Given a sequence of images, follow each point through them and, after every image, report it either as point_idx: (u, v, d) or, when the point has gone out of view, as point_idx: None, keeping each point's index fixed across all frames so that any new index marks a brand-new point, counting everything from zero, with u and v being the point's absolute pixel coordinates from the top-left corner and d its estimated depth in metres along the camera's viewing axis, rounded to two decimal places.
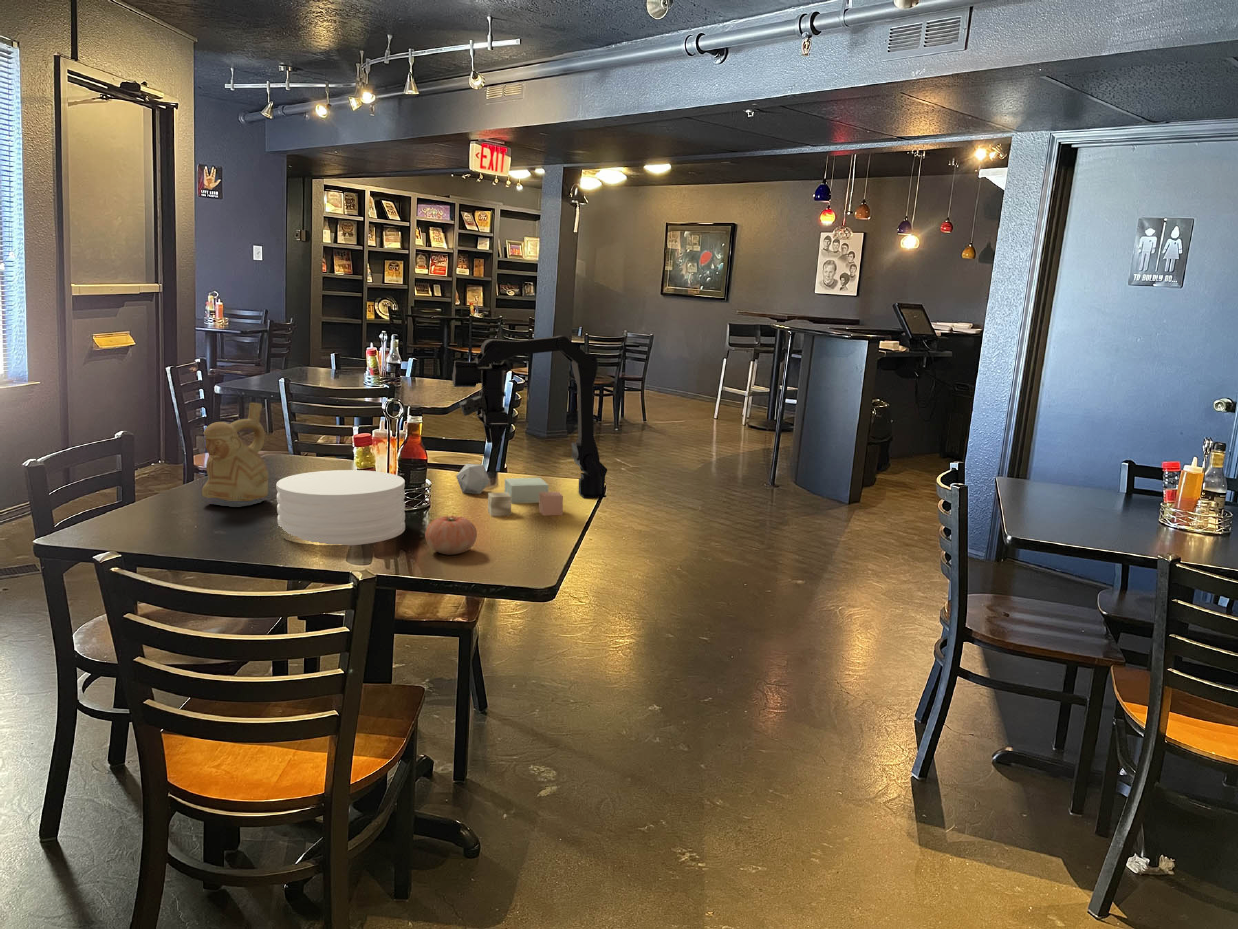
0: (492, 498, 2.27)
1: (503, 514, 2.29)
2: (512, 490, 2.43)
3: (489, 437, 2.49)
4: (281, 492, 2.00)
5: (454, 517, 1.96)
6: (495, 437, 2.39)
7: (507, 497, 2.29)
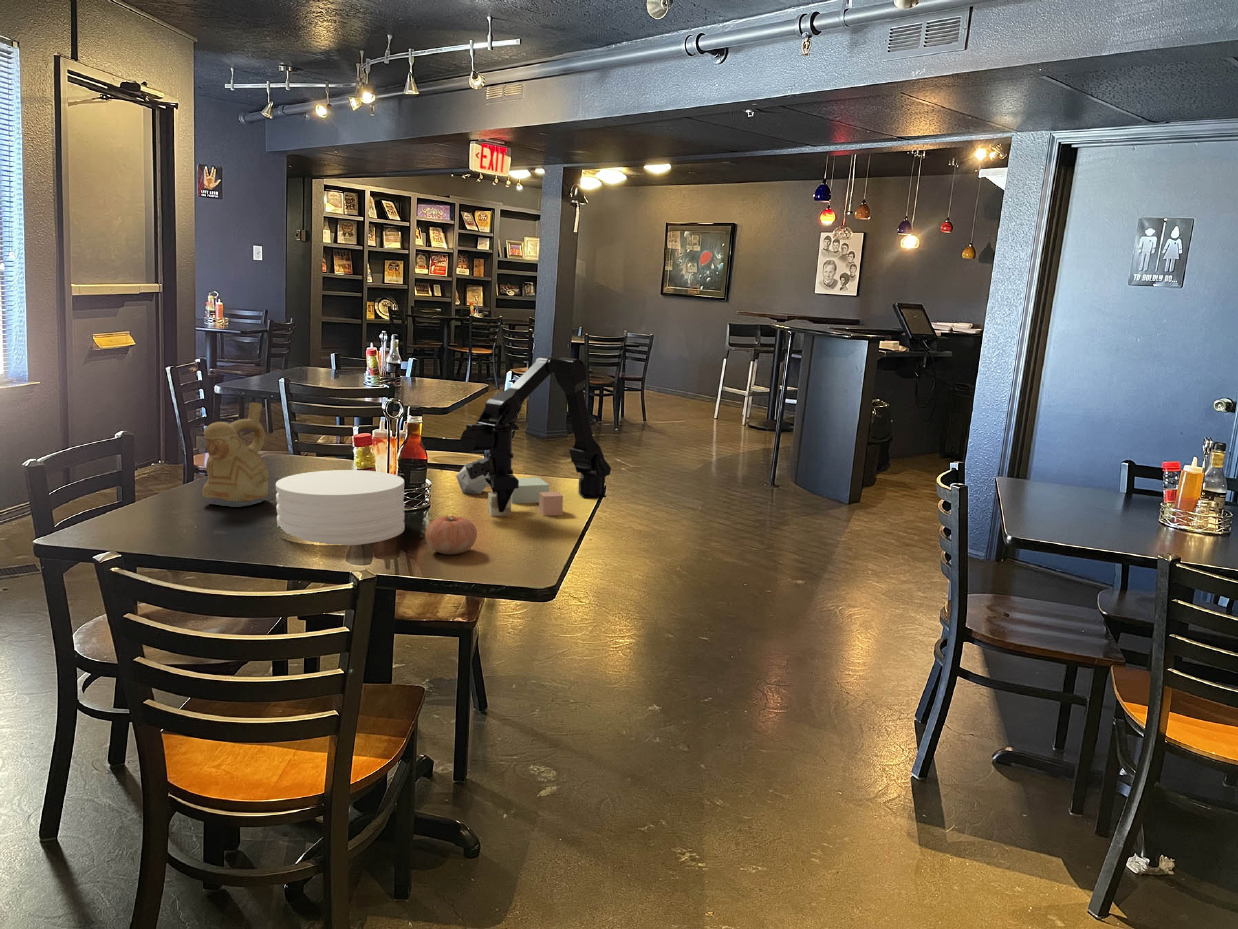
0: (492, 498, 2.27)
1: (503, 514, 2.29)
2: None
3: None
4: (280, 492, 2.00)
5: (454, 517, 1.96)
6: (502, 501, 2.27)
7: None
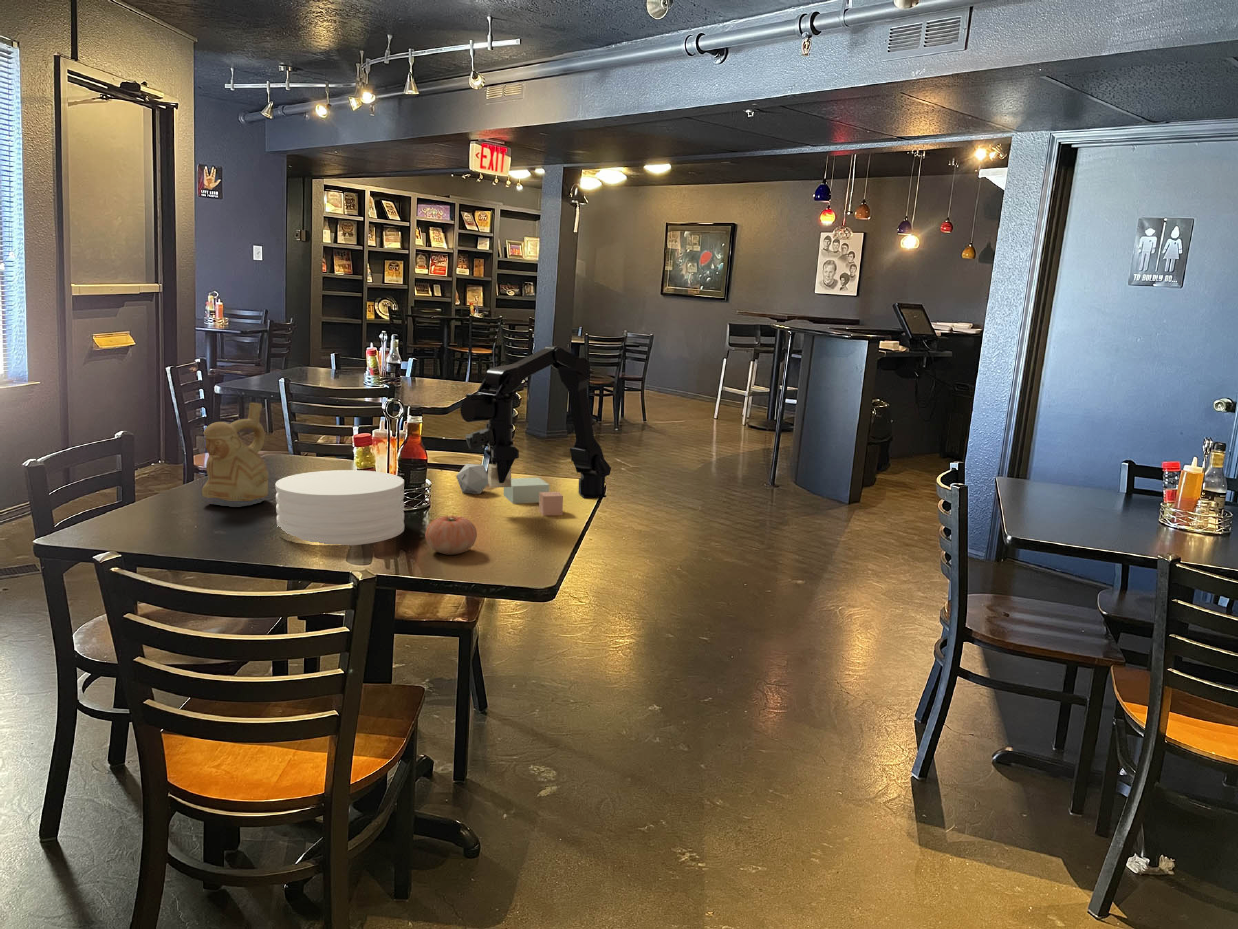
0: (492, 469, 2.26)
1: (503, 485, 2.28)
2: (513, 490, 2.42)
3: None
4: (280, 492, 1.99)
5: (454, 517, 1.96)
6: (502, 471, 2.26)
7: None
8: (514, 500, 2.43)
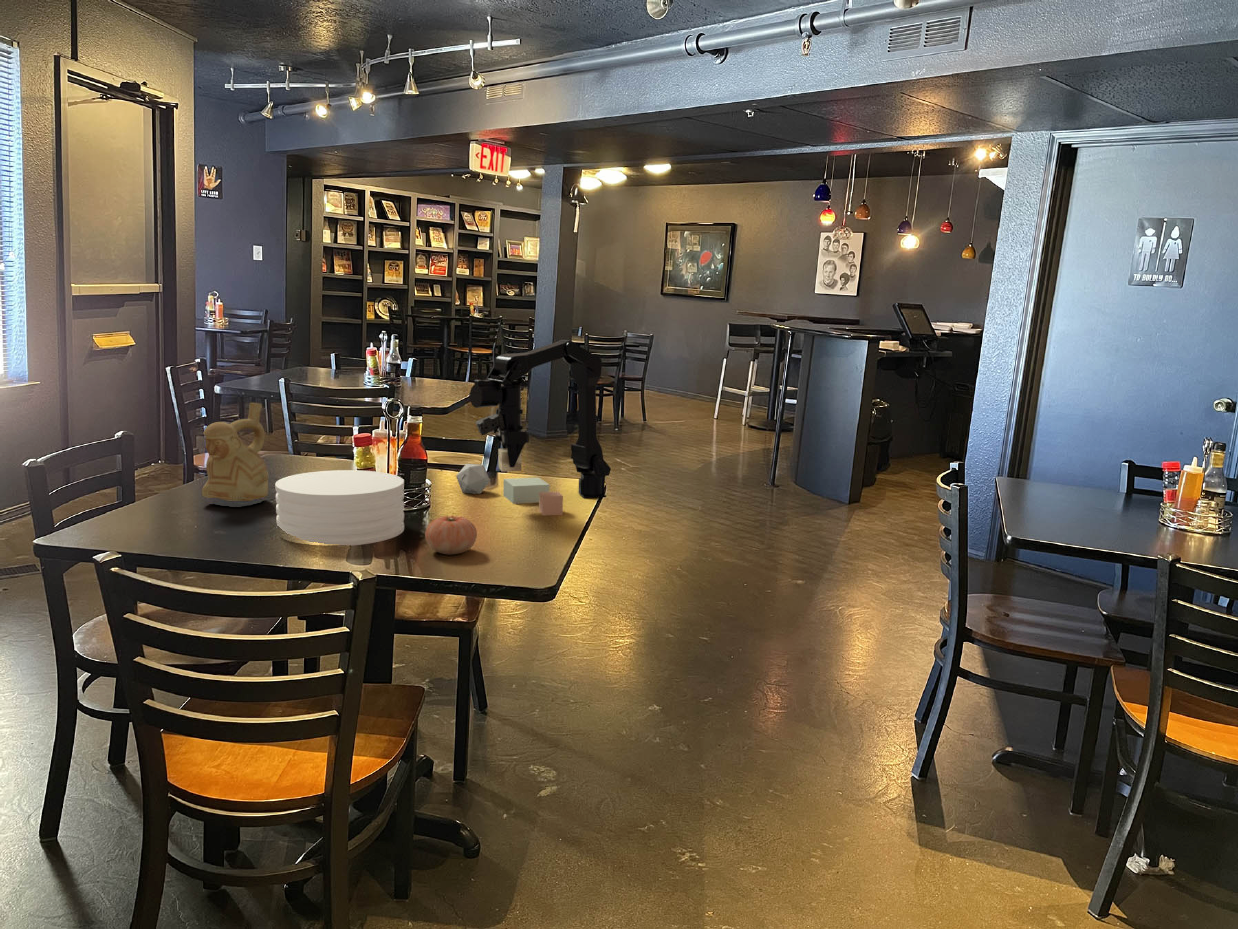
0: (502, 453, 2.31)
1: (514, 469, 2.33)
2: (514, 490, 2.42)
3: None
4: (280, 492, 1.99)
5: (454, 517, 1.96)
6: (512, 456, 2.31)
7: None
8: (514, 500, 2.43)
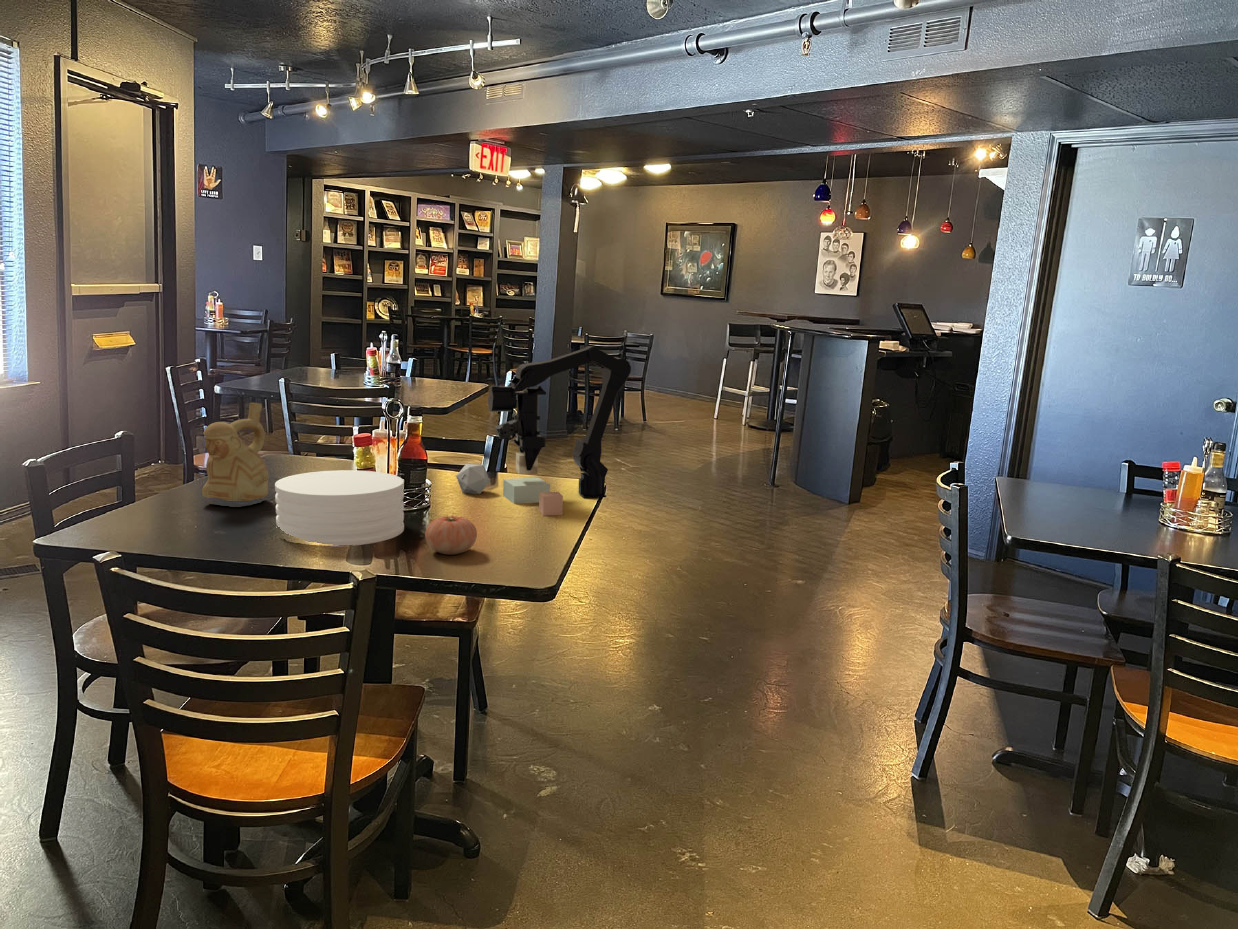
0: (520, 457, 2.44)
1: (530, 472, 2.46)
2: (514, 490, 2.42)
3: None
4: (280, 492, 1.99)
5: (454, 517, 1.96)
6: (529, 460, 2.44)
7: None
8: (515, 500, 2.43)
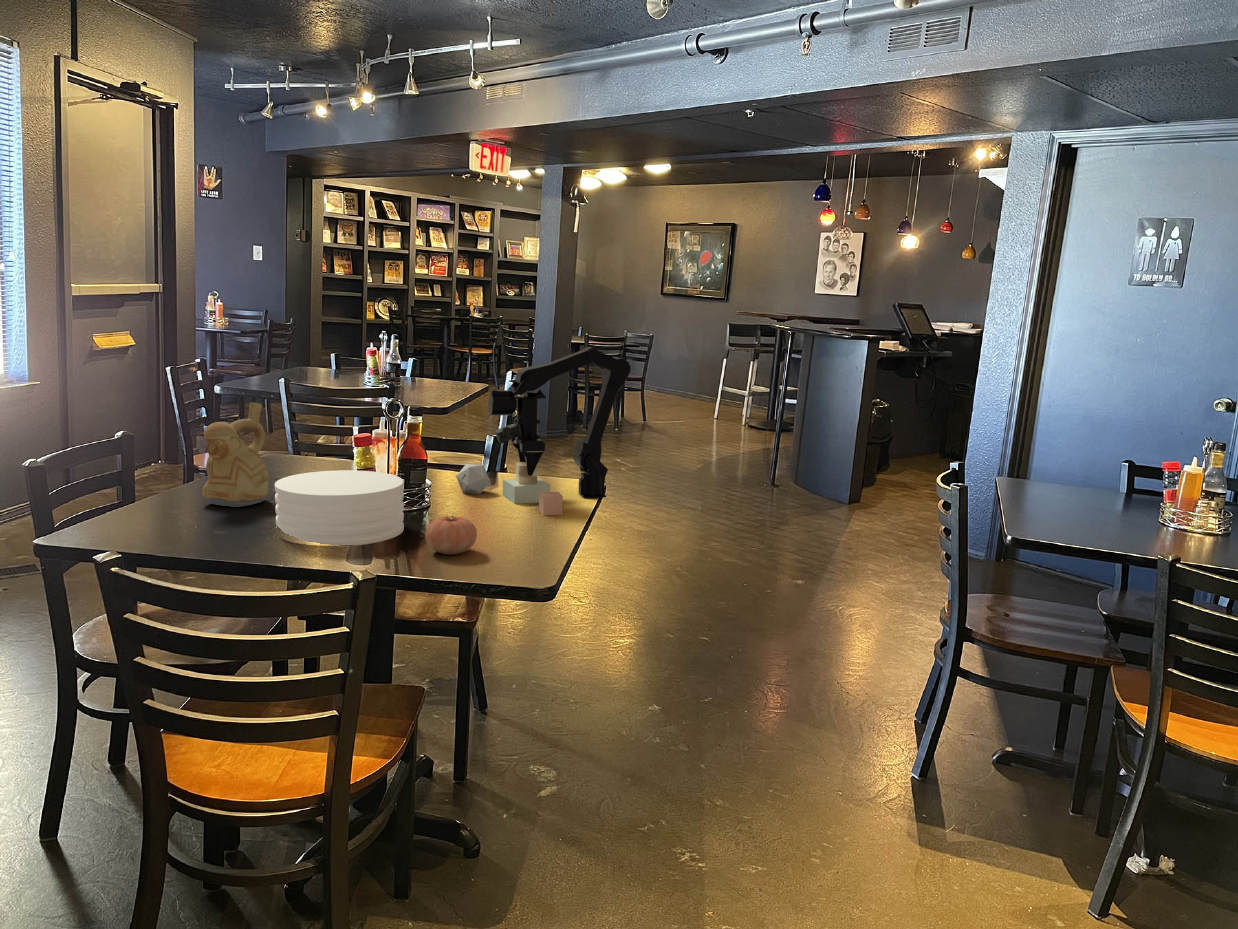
0: (520, 467, 2.44)
1: (530, 482, 2.46)
2: (515, 490, 2.42)
3: None
4: (279, 492, 1.99)
5: (454, 517, 1.96)
6: (530, 465, 2.42)
7: None
8: (516, 500, 2.43)
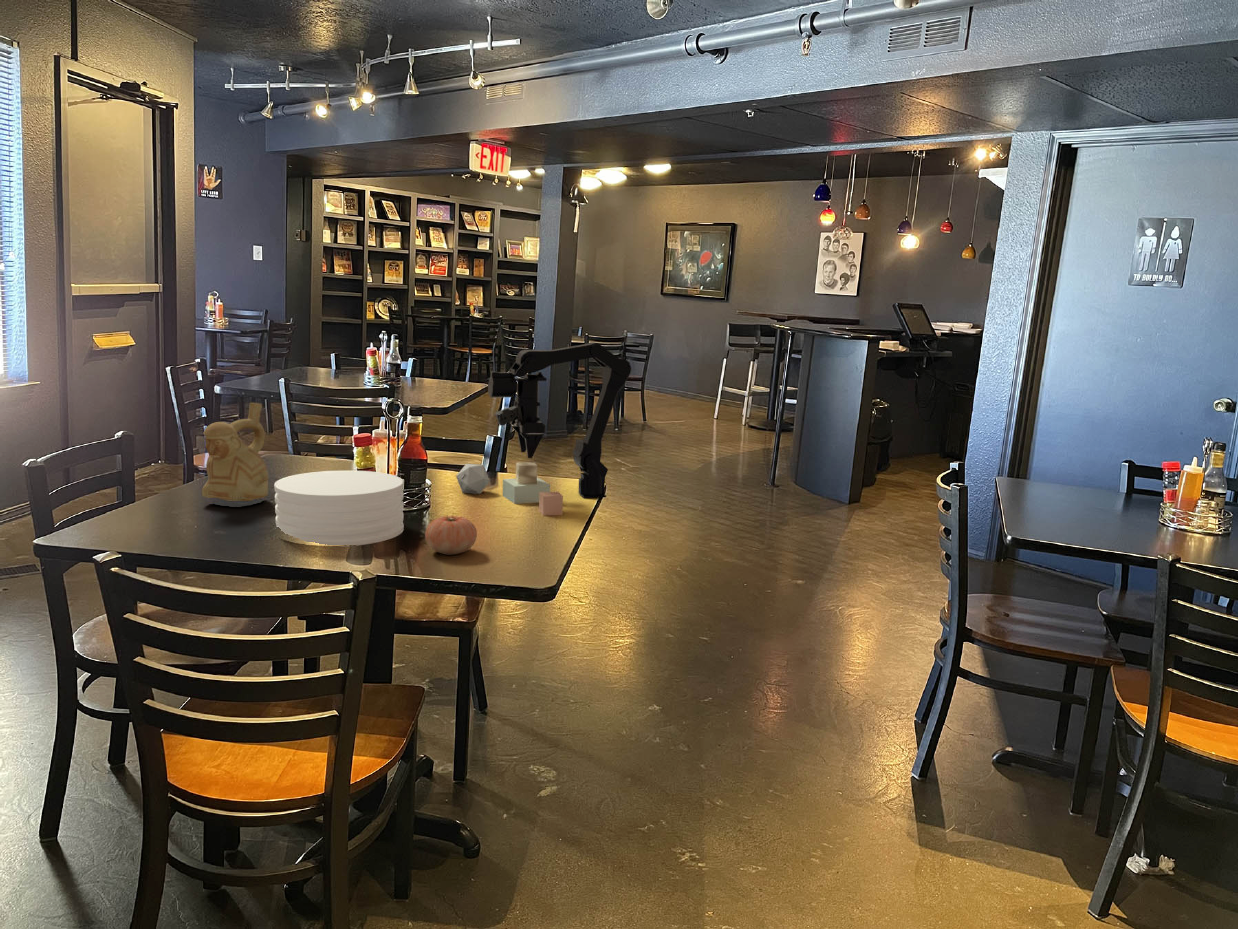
0: (519, 466, 2.45)
1: (529, 482, 2.46)
2: (515, 490, 2.42)
3: (523, 446, 2.51)
4: (279, 493, 1.99)
5: (454, 517, 1.96)
6: (530, 447, 2.41)
7: (533, 466, 2.46)
8: (516, 500, 2.43)
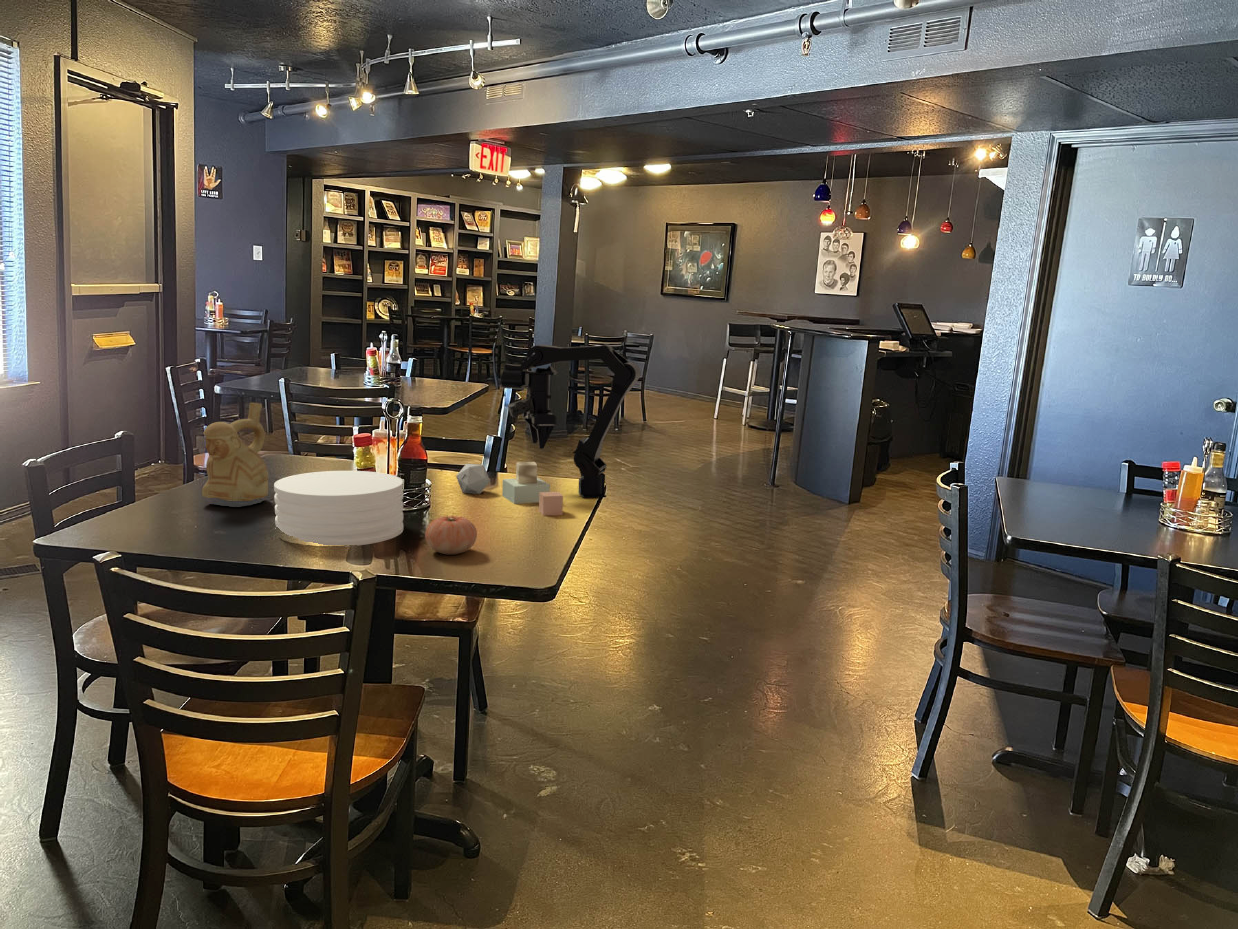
0: (519, 466, 2.45)
1: (529, 481, 2.46)
2: (515, 490, 2.42)
3: (534, 438, 2.61)
4: (279, 493, 1.99)
5: (454, 517, 1.96)
6: (542, 438, 2.51)
7: (533, 466, 2.46)
8: (515, 500, 2.43)
